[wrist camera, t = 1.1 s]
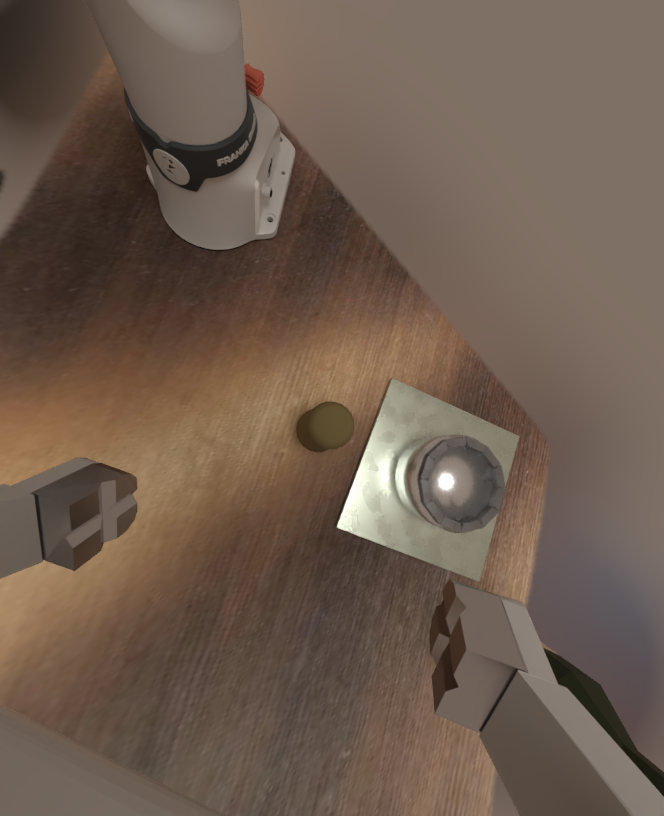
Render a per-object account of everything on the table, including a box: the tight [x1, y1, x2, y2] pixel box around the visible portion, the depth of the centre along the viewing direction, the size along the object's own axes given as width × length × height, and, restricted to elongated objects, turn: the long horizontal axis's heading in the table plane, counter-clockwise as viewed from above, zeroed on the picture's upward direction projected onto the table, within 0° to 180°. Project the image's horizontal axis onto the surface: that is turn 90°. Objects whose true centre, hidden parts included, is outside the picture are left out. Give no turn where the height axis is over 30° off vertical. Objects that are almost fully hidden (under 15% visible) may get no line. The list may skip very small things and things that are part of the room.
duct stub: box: [335, 378, 519, 582], centre depth 42 cm, size 22×22×8 cm
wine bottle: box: [442, 600, 664, 796], centre depth 29 cm, size 8×8×30 cm
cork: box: [297, 402, 354, 452], centre depth 38 cm, size 6×6×11 cm
